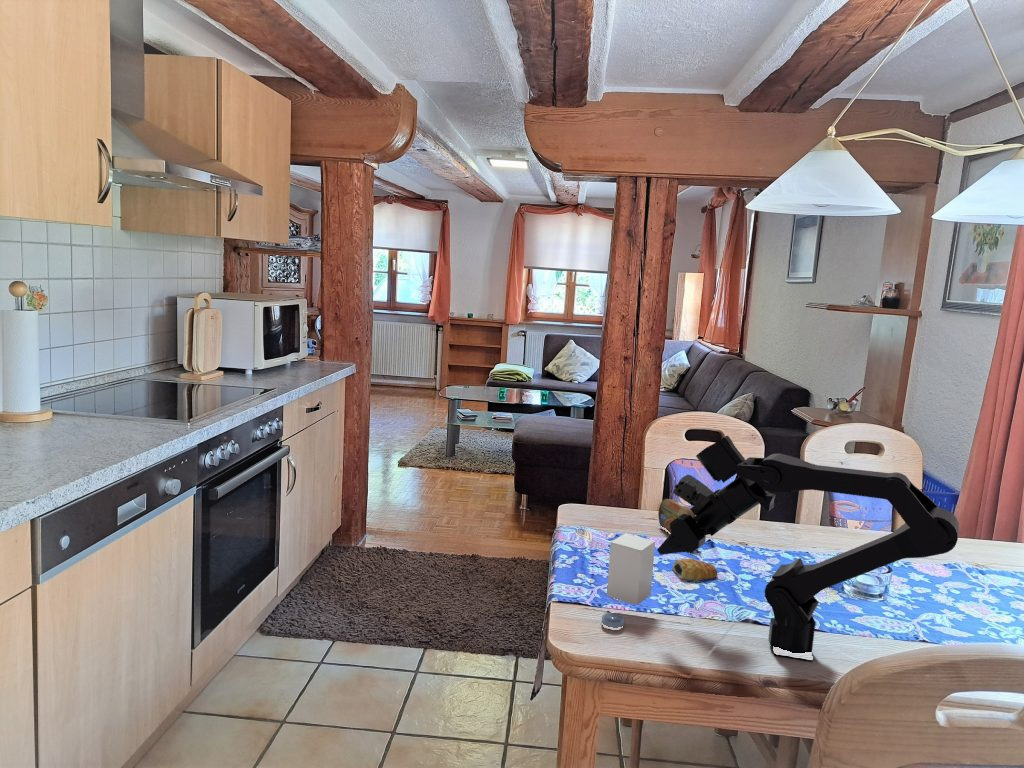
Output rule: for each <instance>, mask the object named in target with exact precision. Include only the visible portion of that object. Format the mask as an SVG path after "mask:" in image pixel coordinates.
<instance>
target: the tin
mask: <svg viewBox="0 0 1024 768" xmlns="http://www.w3.org/2000/svg"><path fill="white" fill-rule="evenodd" d="M690 508H691V507H690V506H687V505H686V504H684V503H683V502H680V501H678V500H677V499H672V498H671V499H669V498H664V499H663V500H662V501H661V502H660V504H659V507H658V514H657V516H658V522H659V526H660V527H661V526H662V527H664V528H666V529H667V530H668V531H669V532H670V533H671V529H670V525H669V523H671V522H672V521H673V520H675V519H676V518H678V517H679V516H681V515H682V514H688V515H691V516H692V518H693V517H694V514H693V512H692V511H691V510H690Z"/></svg>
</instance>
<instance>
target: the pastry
mask: <svg viewBox="0 0 1024 768" xmlns="http://www.w3.org/2000/svg"><path fill="white" fill-rule="evenodd" d="M671 569H672V571H673V572H674V573H675V572H676V573H677V574H676V573H675V574H676V575H677V576H678V578H679V579H681V580H683V579H684V581H689V580H693V581H692V582H696V581H695V580H699V581H705V580H704V579H706V580H711V579H710V578H714V577H716V576H717V577H718V569H717V568H716V567H715V566H714V565H713V564H711V563H708V562H704V561H702V560H698V559H694V558H681V559H676V560H675V561H674V562H673V565H672V567H671ZM717 577H716V578H717ZM714 579H715V578H714Z"/></svg>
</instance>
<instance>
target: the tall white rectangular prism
mask: <svg viewBox="0 0 1024 768" xmlns="http://www.w3.org/2000/svg"><path fill="white" fill-rule="evenodd" d="M609 548H610V549H609V562H608V574H607V581H608V585H607V596H610V597H612V598H615V599H618V600H621V601H624V602H627V603H630V604H634V605H638V604H639V603H641V602H642V601H643V600H645V599H646V598H647V597H648V596H650V595H651V588H652V584H653V583H652V582H653V571H654V560H655V549H656V540H652V539H649V538H644V537H641V536H637V535H634V534H630V533H626V532H624V533H623V534H622V535H619V536H618V537H616V538H615V539H613V540H612V541H610V547H609Z"/></svg>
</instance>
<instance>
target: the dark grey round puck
mask: <svg viewBox="0 0 1024 768" xmlns="http://www.w3.org/2000/svg"><path fill="white" fill-rule="evenodd" d="M601 623H603V624H604V625H606V626H608V627H613V628H618V627H622V626H623V625H625V618H624V616H623V615H622V614H616V613H609V612H605V613H604V614H602V615H601Z"/></svg>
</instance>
